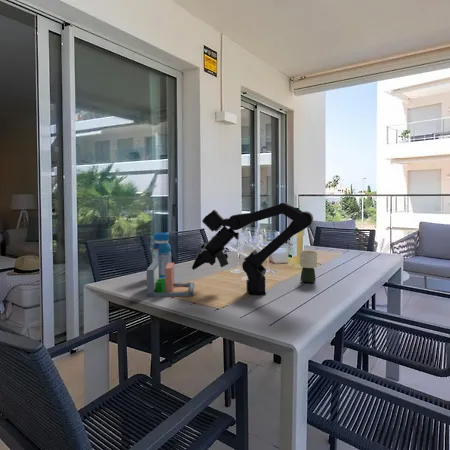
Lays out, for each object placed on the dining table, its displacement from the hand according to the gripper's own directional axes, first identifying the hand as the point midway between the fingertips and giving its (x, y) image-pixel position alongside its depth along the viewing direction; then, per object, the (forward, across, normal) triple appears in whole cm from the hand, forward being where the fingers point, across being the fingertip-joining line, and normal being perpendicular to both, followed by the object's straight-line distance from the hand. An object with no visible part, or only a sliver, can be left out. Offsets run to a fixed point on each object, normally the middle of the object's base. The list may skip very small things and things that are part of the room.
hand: (192, 268), depth 140 cm
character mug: (-28, +10, -41) cm, 50 cm away
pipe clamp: (+15, -1, +2) cm, 15 cm away
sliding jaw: (+10, 0, -2) cm, 10 cm away
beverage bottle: (+16, +22, +4) cm, 28 cm away
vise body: (+12, 0, 0) cm, 12 cm away
